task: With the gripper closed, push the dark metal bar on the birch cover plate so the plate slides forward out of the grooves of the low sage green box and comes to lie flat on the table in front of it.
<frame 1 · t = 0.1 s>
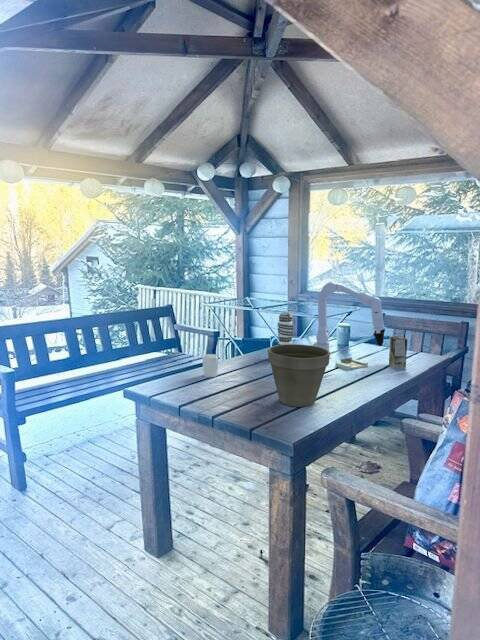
hand: (380, 344, 249), 11 cm above the table, tool pointing down, fingers open, 7 cm apart
box: (351, 367, 242), on the table
coffee box: (397, 368, 241), on the table
plant pot: (297, 401, 188), on the table
white cup: (210, 375, 227), on the table
decorative candle: (284, 355, 268), on the table
plate: (351, 366, 242), resting on box
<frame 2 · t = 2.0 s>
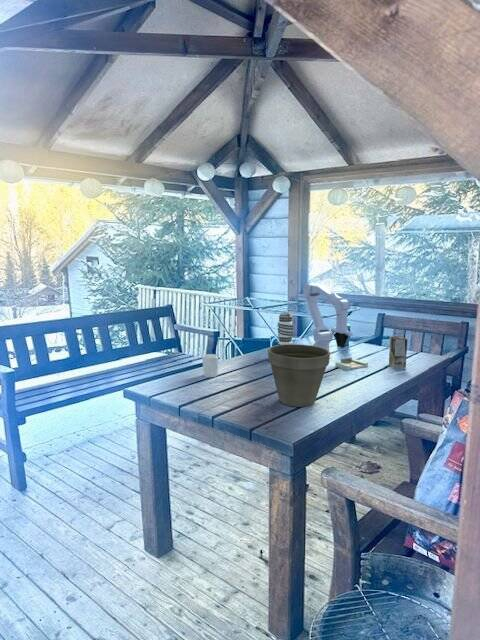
hand: (340, 346, 247), 9 cm above the table, tool pointing down, fingers closed
nothing on the table moved.
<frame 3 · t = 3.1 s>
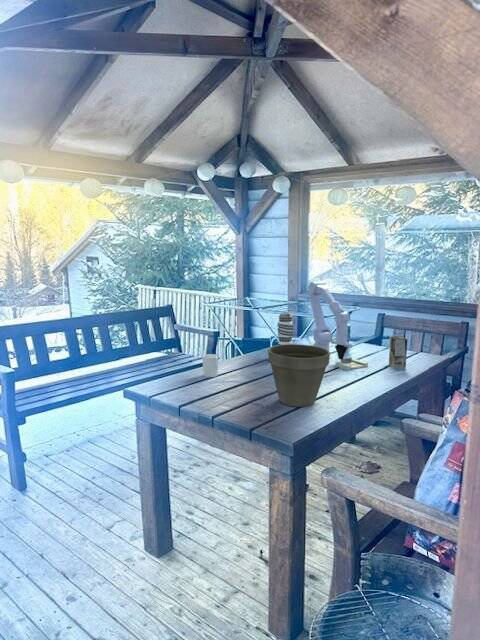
hand: (340, 358, 248), 3 cm above the table, tool pointing down, fingers closed
nothing on the table moved.
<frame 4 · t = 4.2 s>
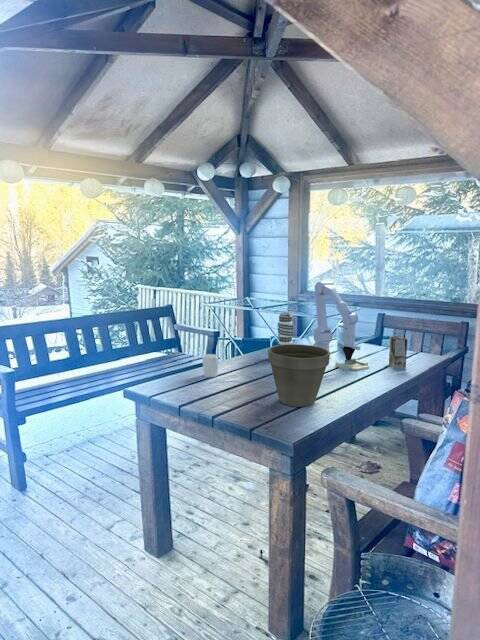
hand: (348, 360, 243), 3 cm above the table, tool pointing down, fingers closed
plate: (355, 367, 239), point 1 cm above the table, touching gripper
everything else where it was.
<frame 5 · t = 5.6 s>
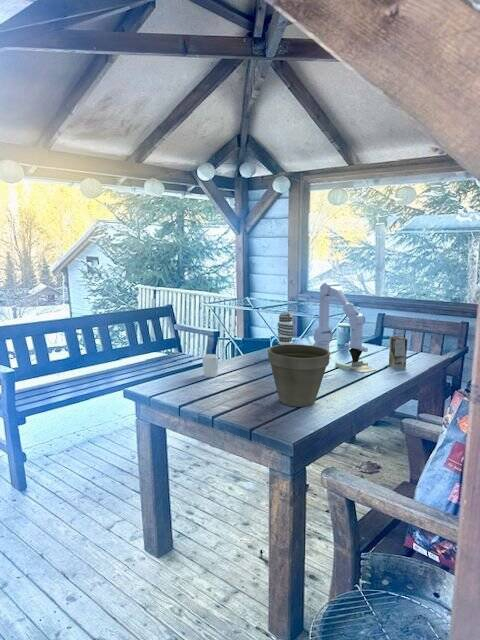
hand: (355, 362, 239), 3 cm above the table, tool pointing down, fingers closed
plate: (362, 370, 235), on the table, touching gripper
everything else where it was.
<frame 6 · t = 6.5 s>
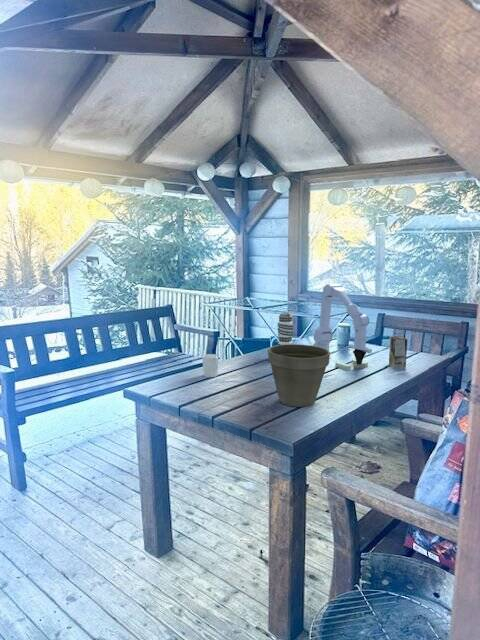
hand: (359, 364, 237), 3 cm above the table, tool pointing down, fingers closed, pressing on plate
plate: (364, 372, 234), on the table, touching gripper
everything else where it was.
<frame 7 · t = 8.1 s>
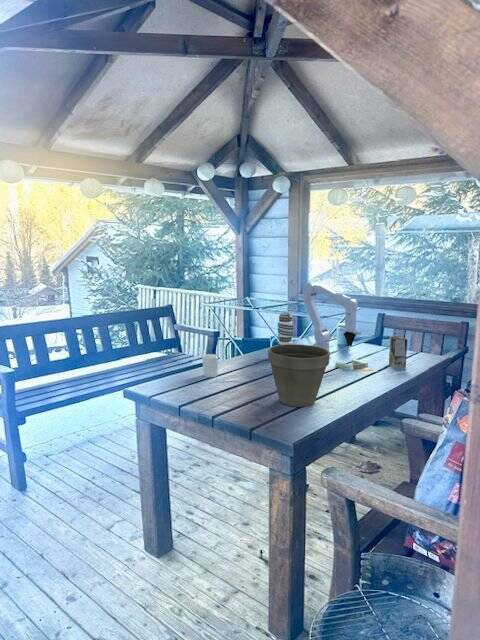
hand: (349, 345, 250), 9 cm above the table, tool pointing down, fingers closed
plate: (364, 372, 234), on the table
everything else where it was.
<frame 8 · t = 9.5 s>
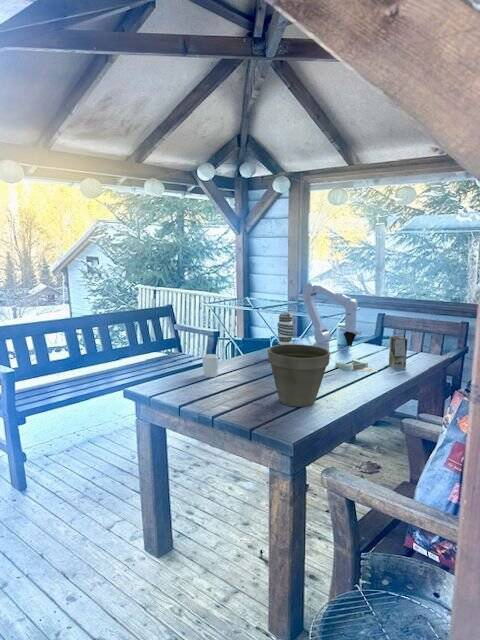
hand: (349, 345, 250), 9 cm above the table, tool pointing down, fingers closed
nothing on the table moved.
at the end: plate inside the target area (2.7 cm from its centre), on the table; plate touching table; plate tilted 0° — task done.
